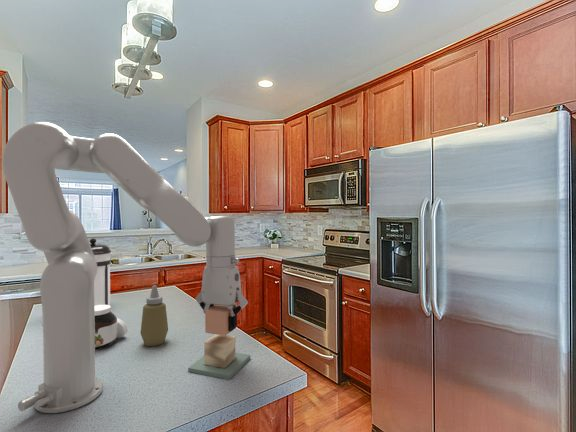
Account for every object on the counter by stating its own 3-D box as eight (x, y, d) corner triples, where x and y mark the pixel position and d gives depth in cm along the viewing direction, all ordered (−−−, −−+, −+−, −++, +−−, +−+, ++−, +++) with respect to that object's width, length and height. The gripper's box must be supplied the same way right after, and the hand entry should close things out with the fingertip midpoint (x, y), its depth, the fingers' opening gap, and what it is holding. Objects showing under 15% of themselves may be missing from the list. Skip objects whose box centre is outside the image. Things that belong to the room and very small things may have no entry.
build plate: (229, 379, 80) (229, 375, 80) (188, 371, 84) (188, 367, 84) (250, 358, 91) (250, 355, 91) (213, 352, 95) (213, 348, 95)
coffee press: (92, 304, 142) (91, 236, 141) (122, 307, 137) (122, 237, 137) (54, 317, 125) (53, 239, 125) (86, 321, 121) (86, 241, 120)
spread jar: (74, 351, 95) (74, 312, 95) (91, 336, 106) (91, 301, 106) (118, 349, 97) (117, 310, 97) (130, 334, 108) (130, 300, 108)
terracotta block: (225, 335, 83) (225, 312, 83) (205, 332, 85) (205, 310, 85) (236, 327, 89) (236, 305, 89) (217, 325, 91) (217, 303, 91)
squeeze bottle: (140, 340, 104) (140, 284, 103) (167, 336, 107) (167, 282, 107) (140, 350, 96) (139, 290, 96) (168, 345, 99) (168, 287, 99)
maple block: (235, 358, 89) (235, 336, 89) (224, 368, 84) (224, 345, 83) (216, 354, 91) (216, 333, 91) (204, 364, 85) (204, 341, 85)
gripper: (255, 261, 88) (256, 327, 88) (201, 258, 93) (201, 320, 94) (243, 265, 81) (243, 337, 81) (184, 262, 86) (185, 329, 86)
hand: (221, 327), depth 87 cm, fingers closed on terracotta block, 6 cm apart
